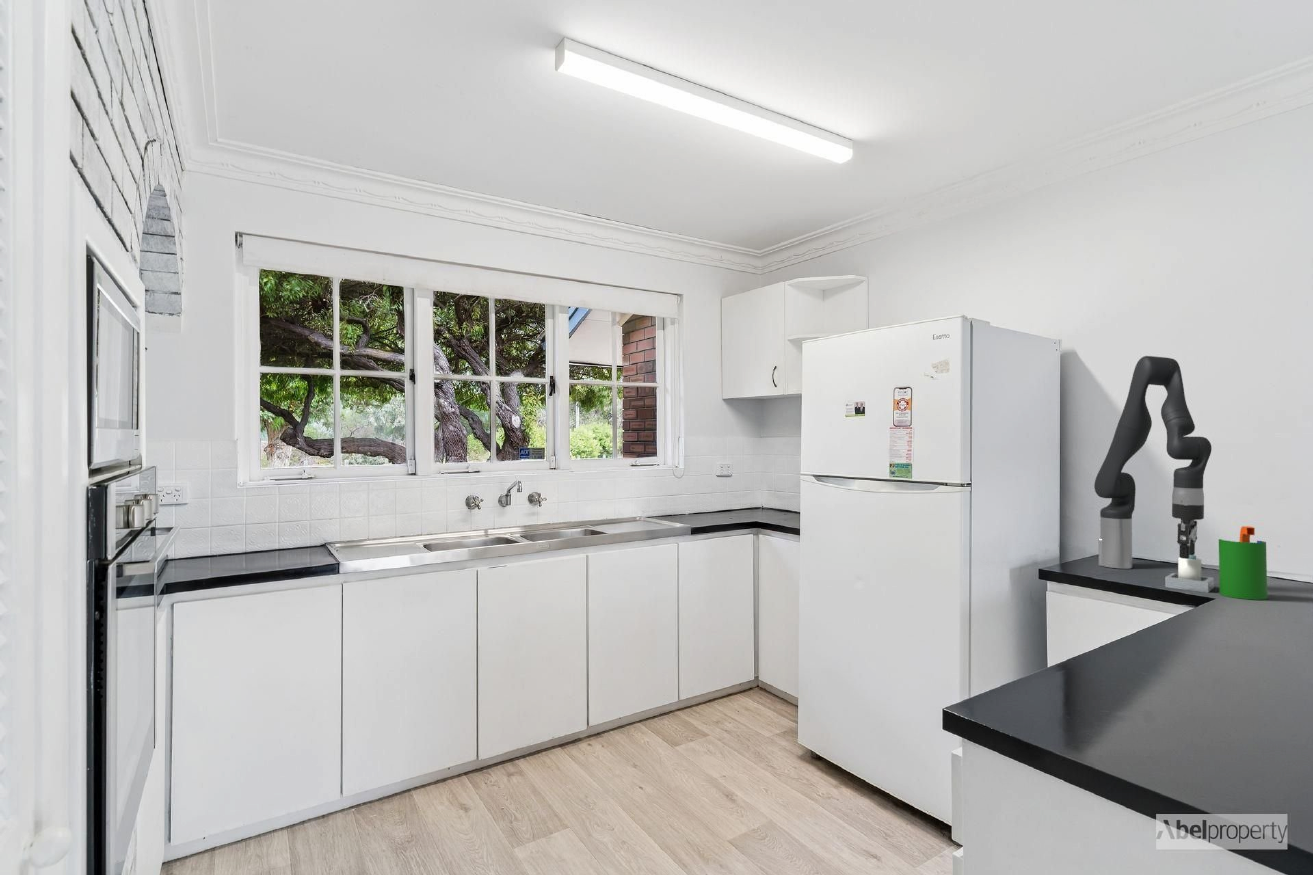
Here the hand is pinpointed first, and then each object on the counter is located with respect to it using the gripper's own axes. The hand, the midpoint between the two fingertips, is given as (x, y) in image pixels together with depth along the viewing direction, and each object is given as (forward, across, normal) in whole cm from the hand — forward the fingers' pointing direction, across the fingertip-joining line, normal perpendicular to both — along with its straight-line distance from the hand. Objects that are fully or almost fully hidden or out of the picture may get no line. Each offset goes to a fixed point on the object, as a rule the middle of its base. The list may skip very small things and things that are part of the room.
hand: (1187, 556), depth 201 cm
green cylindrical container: (+9, +4, +14) cm, 17 cm away
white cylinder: (+9, 0, +1) cm, 9 cm away
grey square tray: (+9, 0, +1) cm, 9 cm away
